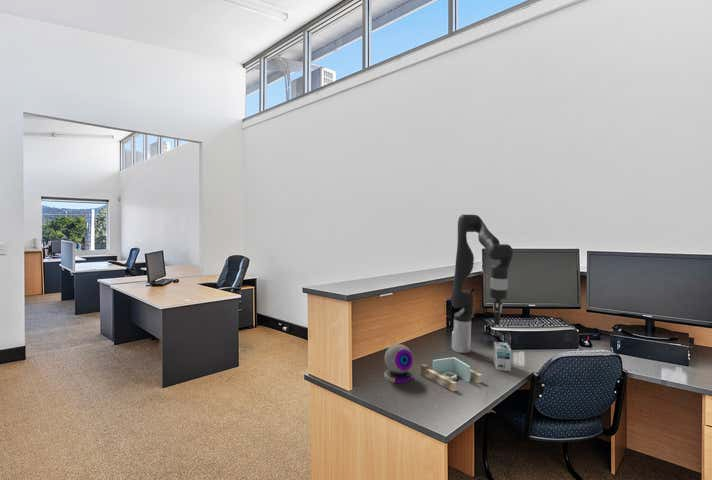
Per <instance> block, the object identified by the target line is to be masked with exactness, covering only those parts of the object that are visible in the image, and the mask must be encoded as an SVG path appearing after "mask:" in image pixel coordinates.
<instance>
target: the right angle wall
mask: <svg viewBox="0 0 712 480" xmlns="http://www.w3.org/2000/svg"><path fill="white" fill-rule="evenodd" d="M470 369H471V366H470V365H469V364H467V363H465V362H464V361H462V360H460V359H458V357H454V356H453V357H445V358H439V359H433V360H432V369H431V370H433V371H435V372H437V373H439V374H441V375H443V376H445V377H447V378H449V379H451V380H453V381H455V382H456V380H457V379H458V377H459V378H461V379H463V380H464V381H466V382H467V383H471V379H470Z"/></svg>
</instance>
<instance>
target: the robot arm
mask: <svg viewBox="0 0 712 480" xmlns="http://www.w3.org/2000/svg"><path fill="white" fill-rule="evenodd" d="M474 232H475V233H477V234H478V237H477V238H478V242H479V243H480V244H481V245H482V246H483V248H485V251H486V253H487V255H488V256H487V257H489V258H490V259H492V260H493V261H494V260H496V261H499V263H496V264H493V265H491V269H490V270H491V272H490V281H489V298H491V299H494V300H493V302H492V306H493V307H492V308H493V325H494V326H499V325H500V320H501V313H502V309H503V305H504V302H503V301H502V300H506V299H507V298H508V287H509V285H508V273H509V272H508V271H509V269H510V268H509V267H510V264H511V261H512V259H513V255H514V254H513V253H514V251H513V248H512V246H511V245H510V244H505V243H504V244H501V243H500V241H499V240H500V239H498V238H497V237H496V236H495V235H494V234H493V233H492V232H491V231H490V230H489V229H488V227H487V225H486V224H485V223H484V221H483V220H482V219H481V217H480V216H479V215H477V214H460V215H459V217H458V220H457V245H456V255H455V268H454V280H453V283H452V284H453V285H452V291H451V297H450V300H451V301H450V302H451V306H452V307H453V308H455V309H460V310H459V311H457V312H455V313H453V331H452V332H451V350H453V351H454V352H456V353H459V354H467V353H470V352H471V340H472V338H471V337H472V336H471V335H472V317H473V310H474V295H473V293H472V292H471V291H470V290H463V285H464V283H465V282H466V280H467V278H468V277H470V275H471V273H472V271H473V268H474V262H475V261H474V260H475V258H474V257H475V256H474V253H473V251H472V249H471V247H470V245H469V243H468V239H467V238H468V237H467V233H474Z"/></svg>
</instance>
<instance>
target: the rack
mask: <svg viewBox="0 0 712 480" xmlns="http://www.w3.org/2000/svg"><path fill="white" fill-rule="evenodd" d="M420 376H423V377H424V378H427V379H429V380H431V381H432V382H434V383H436V384H438V385H440V386H442V387H444V388H446V389H447V390H450V391H451V392H456V391H457V383H458V382H457V381H456V380H455V381H454V380H451V379H449V378H447V377H445V376H443V375H442V374H439V373H437V372H435V371H433V370H432V369H430V368H429V365H427V364H426V363H424V364H420ZM470 381H473V382H475V383H478V384H481V383H482V382H483V374H482V373H480V372H478V371H475V370H473V369H471V368H470Z"/></svg>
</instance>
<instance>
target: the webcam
mask: <svg viewBox="0 0 712 480" xmlns="http://www.w3.org/2000/svg"><path fill="white" fill-rule="evenodd" d="M383 359H384V363H385V366H386V367H387V369H386V370H385V371H384V373H383V375H384V376H383V377H384V379H385V380H386V381H388V382H390V383H393V384H394V383H407V382H410V380H414V377H413V376H414V375H413V373H412V371H410V370H411V368H412V367H413V363H414V355H413V353H412V351H411V349H410V348H409V347H408V346H406V345H404V344H402V343H401V344H399V343H397V344H392V345H391V346H390V347H388V349H387V350H386V351H385V354H384V358H383Z"/></svg>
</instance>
